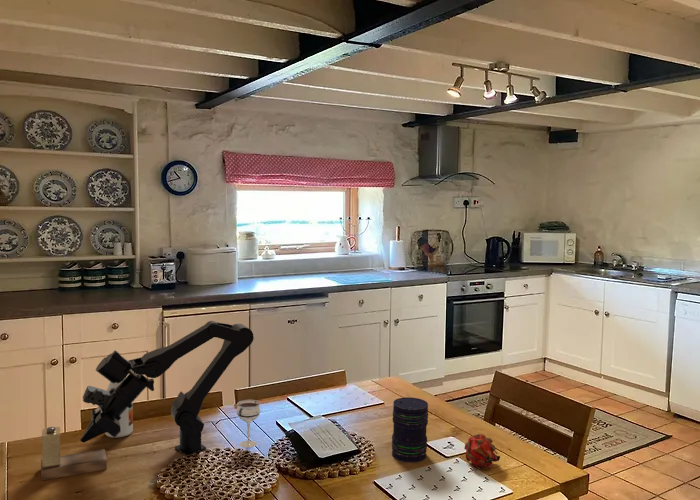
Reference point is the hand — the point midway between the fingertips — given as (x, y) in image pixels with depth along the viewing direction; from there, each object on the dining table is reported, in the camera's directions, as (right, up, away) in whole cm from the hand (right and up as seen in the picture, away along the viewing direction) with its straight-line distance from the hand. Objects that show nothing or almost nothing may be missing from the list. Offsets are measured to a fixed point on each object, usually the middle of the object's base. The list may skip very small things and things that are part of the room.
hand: (81, 441), depth 149 cm
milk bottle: (0, -5, +23) cm, 24 cm away
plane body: (-2, -7, 0) cm, 7 cm away
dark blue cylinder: (+86, -8, +13) cm, 87 cm away
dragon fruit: (+105, -9, +8) cm, 106 cm away
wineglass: (+40, -7, +17) cm, 44 cm away
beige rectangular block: (-6, -4, -3) cm, 8 cm away
